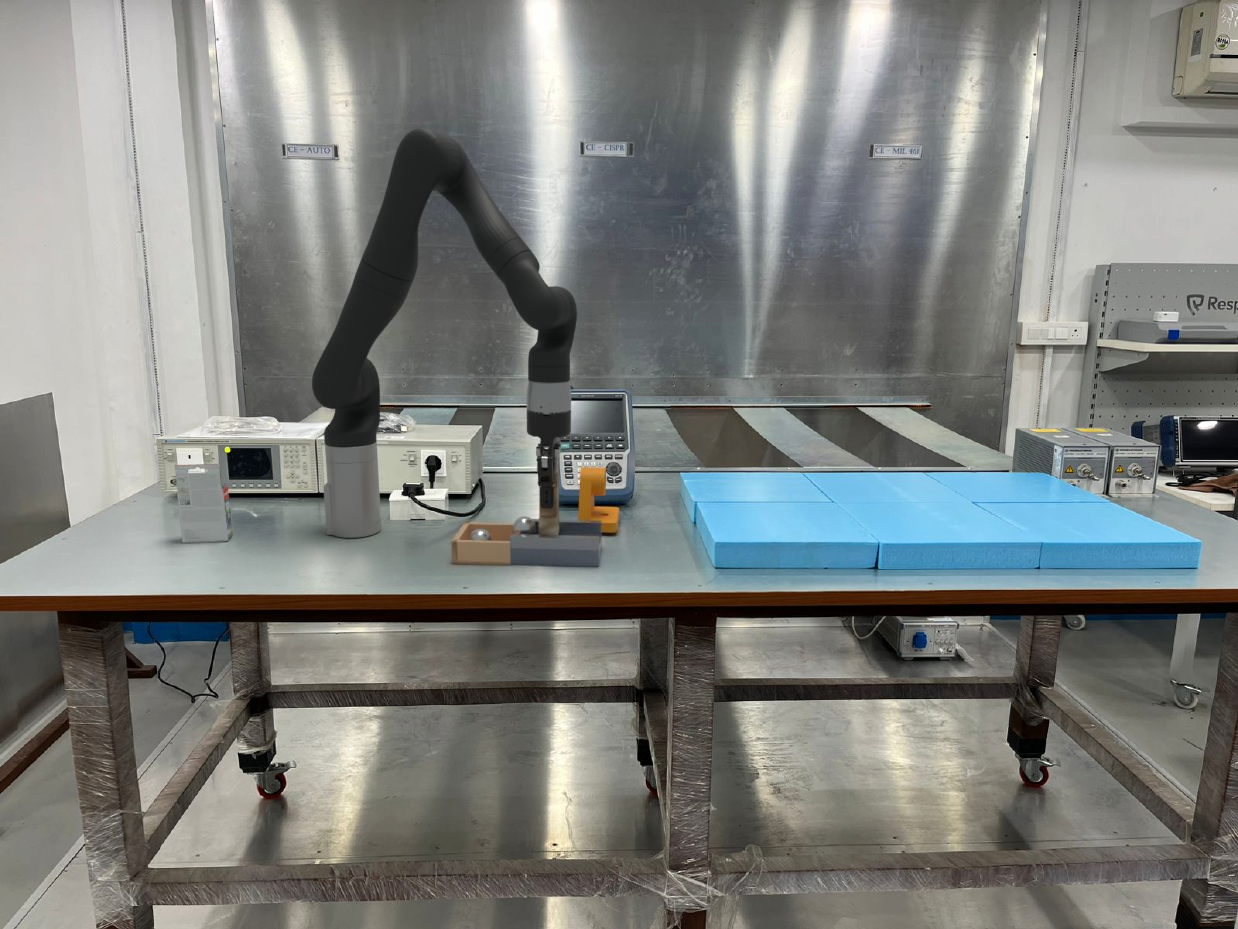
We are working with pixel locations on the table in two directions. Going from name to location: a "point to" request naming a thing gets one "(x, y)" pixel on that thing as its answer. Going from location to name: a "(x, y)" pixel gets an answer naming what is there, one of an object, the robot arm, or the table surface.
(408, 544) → the table surface
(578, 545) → the slot rail
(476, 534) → the ball
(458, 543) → the tray
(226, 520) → the ink box
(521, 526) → the ball
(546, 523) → the tall wooden post
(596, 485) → the bracket
